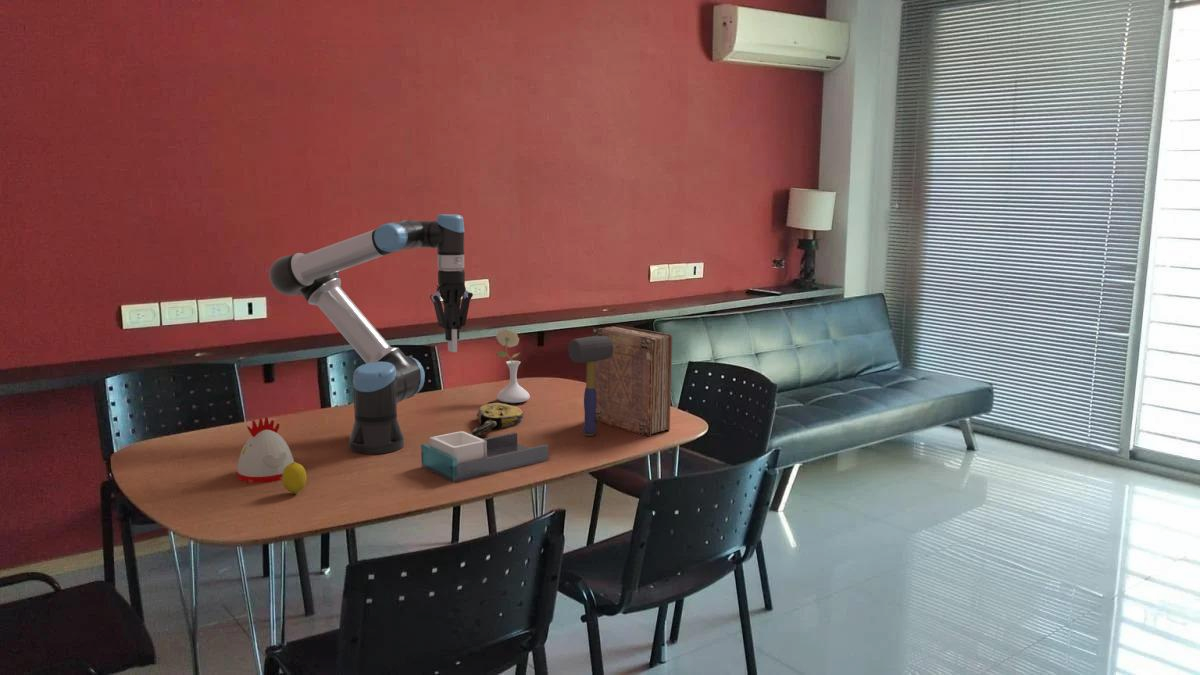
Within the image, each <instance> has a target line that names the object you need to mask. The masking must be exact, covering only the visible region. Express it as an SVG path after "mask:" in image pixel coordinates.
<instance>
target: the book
mask: <svg viewBox="0 0 1200 675" xmlns="http://www.w3.org/2000/svg"><path fill="white" fill-rule="evenodd" d="M593 336H607V337H609V338H610V339H611V341H612V344H613V353H612V356H611V357H610V358H608V359H604V360H599V361H595V390H596V412H595V422H598V421H599V422H598V423H601V422H602V423H601V424H604V423H605V425H608V424H609V425H608V426H611V425H612V426H611V427H614V426H616V427H615V428H618V427H619V428H618V429H621V428H623V429H622V430H624V429H626V430H625V431H628V430H630V431H629V432H631V431H633V432H632V433H635V432H636V433H635V434H638V433H640V434H639V435H641V434H643V436H645V435H646V437H648V436H650V437H651V436H652V434H656V433H660V432H664V431H665V430H668V431H667V432H669V431H670V430H671V402H672V401H671V396H672V395H671V394H672V363H673V362H672V359H673V357H672V356H673V335H672V334H669V333H665V332H660V331H659V332H658V331H654V330H653V331H652V330H648V329H643V328H642V329H640V328H637V327H636V328H635V327H630V326H625V325H624V326H623V325H618V324H610V325H603V326H596V327H592V336H591V337H593Z"/></svg>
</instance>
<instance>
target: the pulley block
mask: <svg viewBox="0 0 1200 675" xmlns="http://www.w3.org/2000/svg"><path fill="white" fill-rule="evenodd" d="M525 413H526V411H524V412H523V410H522V409H521V408H520V407H518V406H515V405H510V404H508V403H506V402H501V401H500V402H498V401H489V402H487V403H486V404H483V405H481V406H480V407H479V408H478V412H477V414H476V417H477V418H478V419H477V420H478V422H479V424H480V426H479V427H475V428H474V429H473V430H472V431H471V433H472V434H471V435H473V436H476V437H480V436H482V435H483V434H486V433H489V432H490V431H492V432H494V431H498V430H501V429H502V430H503V429H506V428H510V427H513V426H514V425H515V426H518V425H519V424H521V423H520V422H522V416H523V415H524V414H525ZM518 423H519V424H518ZM517 424H518V425H517ZM515 426H514V427H515Z"/></svg>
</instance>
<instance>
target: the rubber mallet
mask: <svg viewBox="0 0 1200 675" xmlns="http://www.w3.org/2000/svg"><path fill="white" fill-rule="evenodd" d="M568 343H569V344H568V348H567V353H568V357H569V359H570V360H571V361H572V362H573V363H586V374H585V375H586V380H585V381H586V382H585V384H586V385H585V389H584V395H583V409H584V424H583V427H582V431H583V433H584V435H585V436H586V437H587V436H588V437H591V436H595V434H596V432H597V423H596V421H595V412H596V390H595V361H599V360H604V359H608V358H610V357H611V356H612V353H613V344H612V341H611V339H610V338H609V337H607V336H593V337H592V336H586V337H579V338H574V339H572V340H571V341H570V342H568Z"/></svg>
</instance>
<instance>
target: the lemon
mask: <svg viewBox="0 0 1200 675" xmlns="http://www.w3.org/2000/svg"><path fill="white" fill-rule="evenodd" d="M307 477H308V476H307V472H306V469H305V468H304V466H303V465H302V464H300V463H298V462H296V461H294V462H292V463H291V464H289V465H288V466H286V468H285V469H284V471H283V476H282V480H281V481H282V485H283V487H284V488H285V489H286V490H287V491H288V492H290V493H293V495H294V494H296V495H297V494H298V493H299V491H302V490H304V488H305V486H306V484H307Z"/></svg>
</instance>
